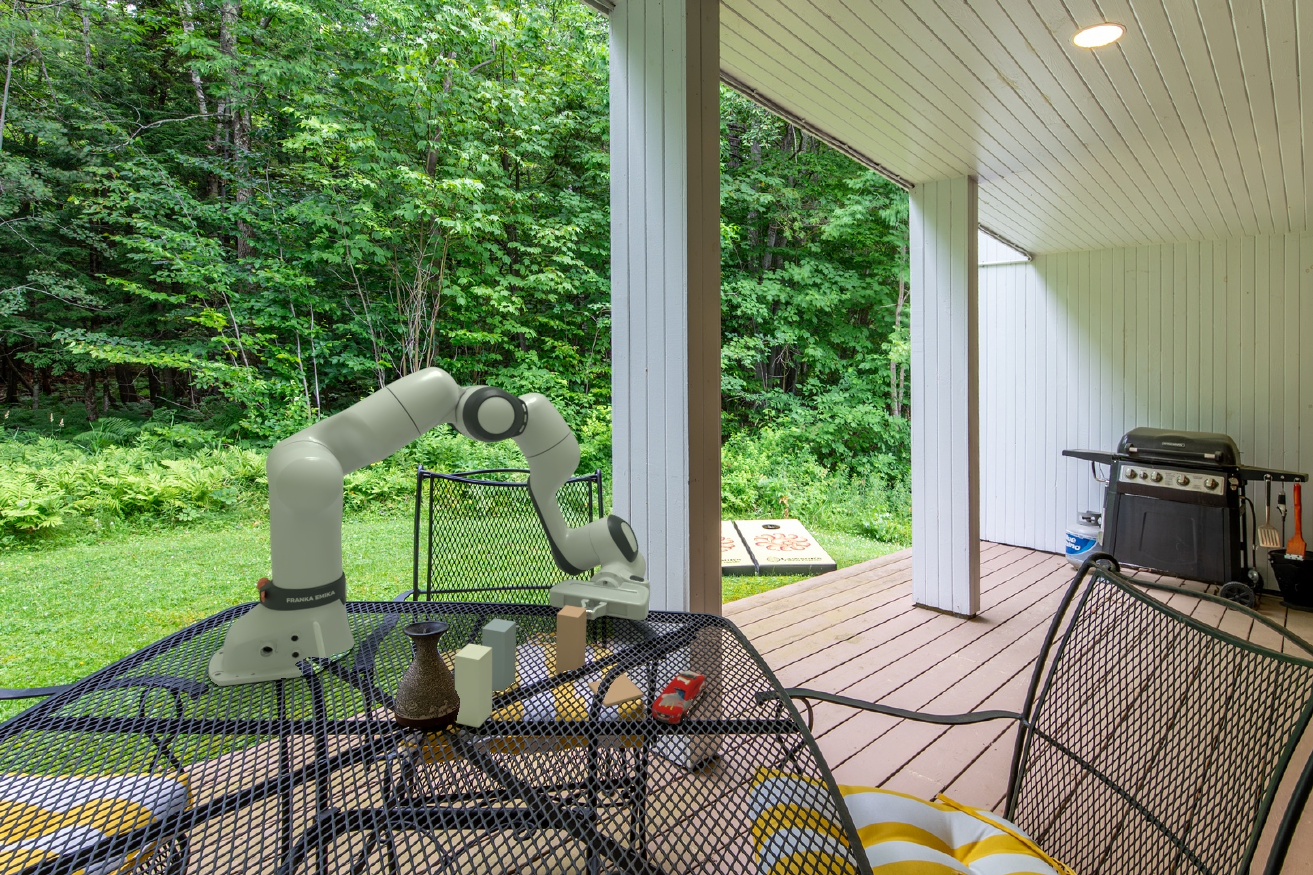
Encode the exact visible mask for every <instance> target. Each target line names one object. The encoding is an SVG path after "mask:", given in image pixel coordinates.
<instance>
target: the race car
mask: <svg viewBox="0 0 1313 875" xmlns="http://www.w3.org/2000/svg"><path fill="white" fill-rule="evenodd" d="M706 686H707V681H706V678H705V676H704V675H703V674H701V673H697V672H695V671H692V670H684V671H682V672H680V673H678V674H677V675H676V676H675V677H674V678H673V679H671V681H670V682H669V683H668V685H666V686H665V688H664V687H661V688H660V690H661V691H662V692H661V694H660V695H659V696H658V698H656V700H655V701H654V702H653V704H652V707H651V714H652V716H653V718H654V719H656V721H659V722H661V723H664V724H670V725H675V724H682V723H681V721H682V722H684V721H683V719H684V720H685V718H686V717H688V715H689V714H687V712H688V709H689V708H690V706H691V701H690V700H691V699H693V700H694V699H696V697H697V695H698V694H700V693H701V692H702V691H703V690H704V689H705V687H706ZM703 688H704V689H703Z"/></svg>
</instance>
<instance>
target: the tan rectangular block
mask: <svg viewBox="0 0 1313 875" xmlns="http://www.w3.org/2000/svg"><path fill="white" fill-rule="evenodd" d="M586 617H587V608H581V607H575V606H568V605H566V606H565V607H564V608H561V610H559V612H557V614H556V640H555V641H556V642H555V644H556V645H555V646H556V649H555V674H560V673H559V672H562V671H567V670H577V669H578V668H580V667H581V666H583V665H585V666H586V651H587V650H586V649H587V648H586V647H587V645H586V643H587V641H586V640H587V619H586Z"/></svg>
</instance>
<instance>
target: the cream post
mask: <svg viewBox="0 0 1313 875" xmlns="http://www.w3.org/2000/svg"><path fill="white" fill-rule="evenodd" d="M455 690H456V691H457V694H458V696H459V698H460V708H459V712H458V715H457V721H456V723H455V724H460V725H464V726H469V727H475V728H478V729H479V728H480V727H481V726H482V725H483V724H484V723H485V722H486V720H487V719H488V718H489V717H490V716H491V714H492V713H493V692H492V647H486V646H482V644H474V643H467V645H465V646H464V647H462V649H460V651H458V652H457V653H455V655H454V691H455Z"/></svg>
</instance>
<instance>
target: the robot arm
mask: <svg viewBox="0 0 1313 875" xmlns="http://www.w3.org/2000/svg"><path fill="white" fill-rule="evenodd" d="M444 424H448V426H450V427H451V428H452V429H453V430H454V431H455V432H457V433H458V434H460V435H462V436H464V437H466V438H467V439H470V440H473V441H476V442H484V443H489V444H491V443H492V444H493V443H498V442H502V441H505V440H508V439H512V440H513V441H514V442H515V444H517V446H518V448H519V450H520V451H521V453H522V455H523V456H524V457H525V460H526V462H527V464H528V468H529V475H528V477H527V480H526V486H527V492H528V495H529V497H530V501H531V502H532V506H533V508H534V511H535V513H536V516H537V517H538V519H539V522H540V524H541V527H542V529H543V532H544V534H545V536H546V539H547V541H548V544H549V546H550V551H551V554H552V558H553V561H554V563H555V565H556V566H557V568H558V569H559V570H560V571H561V572H563V573H564V574H567V575H569V576H573V577H576V576H579V575H581V574H583V573H585V572H587V571H589V570H591V569H593V568H596V567H599V566H600V569H598V570H597V571H596V573H595V574H593V576H592V577H591V578H590V580H589V581H587V580H580V579H573V578H572V579H571V578H568V579H564V580H561V581H560V582H558V583H556V584H555V585H554V586H552V587H551V588H550V590H549V604H550V605H551V607H554V608H559V609H563V608H564V607H565V606H566V605H568V606H575V607H581V608H587V617H586V620H590V621H595V619H597V618H600V617H603V616H609V617H614V618H619V619H620V618H621V619H628V620H633V621H638V622H640V621H645V620H646V618H647V617H648V615H649V610H650V609H649V608H650V600H651V599H650V598H651V584H650V580H649V579H646V578H645V575H646V572H647V563H646V559H645V556H644V555H643V554H642V552H641V551H639V544H638V540H637V537H636V534H635V532H634V530H633V528H632V526H631V525H630V524H629V522H628V521H626V520H624V519H623V518H621V517H620V516H618V515H616V514H609V515H607V516H604V517H601V518H599V519H596V520H593V521H592V522H589V523H586V524H584V525H581V526H579V527H576V528H571V527H569V526H568V525H567V524H566V521H565V519H564V516H563V513H562V511H561V509H560V506H559V504H558V501H557V498H556V495H557V492H558V491H559V489H561V488H562V487H563V486H564V485H565V484H566V483H567V482H568V481H569V480H570V478H571V477H572V476H573V475H574V473H575V471H576V470H577V468H578V467H579V464H580V462H581V454H582V452H581V447H580V446H579V445H580V444H579V442H578V441H577V438H576V437H575V435H574V433H573V432H572V430H571V428H570V427H569V425H568V423H567V422H566V420H565V419H564V417H563V416H562V414H561V413H560V412H559V410H558V409H557V407H555V406H554V405H553V403H552V402H551V401H550V400H549V398H547V397H546V395H544V394H542V393H539V392H529V393H525V394H523V395H521V396H515V395H514V394H512V393H511V392H509V391H507V390H505V389H503V388H501V387H497V386H489V385H485V384H479V385H466V386H460V385H459V384H457V382H456V380H455V379H454V377H453V376H452V375H451V374H449V373H448V372H447V371H445V370H444V369H442V368H440V367H438V366H437V367H436V366H430V367H426V368H423V369H419V370H417V371H415V372H412V373H410V374H408V375H405V376H403V377H400V378H399V379H397V380H394V381H393V382H391V383H389V384H387V385H385V386H384V387H382V388H380V389H378V390H377V391H376V392H373V393H372V394H370V395H369V396H367V397H365V398H363V399H362V400H360V401H358V402H356V403H355V404H353V405H351V406H350V407H348V408H346V409H343V410H342V411H340V412H338V413H335V414H333V415H331V416H329V417H326V418H325V419H322V420H320V421H318V422H316V423H314V424H312V425H310V426H308V427H306V428H303V429H302V430H300V431H297V432H296V433H294V434H292V435H290V436H288V437H287V438H285V439H282V440H281V441H278V442H277V443H276V444H275V445H274V446H273V447H272V448H271V449H270V451H269V453H268V454H267V458H266V461H265V469H266V470H265V471H266V478H267V485H268V500H269V501H268V503H269V531H270V532H269V534H270V535H269V537H270V538H269V539H270V557H271V576H272V577H271V578H272V579H269V578H268V577H261V578H259V579H258V580H257V582H256V584H257V585H256V588H257V590H258V592H259V593H258V594H259V595H258V596H259V597H258V598H259V603H258V604H257V605H256V606H254V607H252V609H250V610H249V611H247V612H246V613H244V614H243V615H242V616H241V617H239V618H238V619H237V620H236V621H235V622H233V624H231V626H230V627H229V629H228V631H227V633H226V635H225V639H224V643H223V646H222V647H221V648H220V649H218V650H217V651H216V652H215V653H214V654H213V655H212V657H211V659H210V660H209V664H208V674H209V675H208V674H207V675H208V678H209V677H210V679H211V680H212V681H213V682H214V683H215V684H217V685H218V686H219V687H226V686H233V685H242V684H251V683H259V682H269V681H274V680H275V681H277V680H282V679H281V678H286V679H293V678H300V676H301V670H299V667H297V666H295V664H296V663H297V662H299V661H303V659H305V658H308V657H319V658H324V657H329V656H331V655H333V654H336V653H340V652H344V651H346V650H348V649H349V648H352V647H353V645H354V644H355V645H356V641H355V639H354V637H353V633H352V631H351V628H350V625H349V621H348V616H347V610H346V603H347V597H348V594H347V592H348V590H347V588H348V587H347V577H346V574H345V571H344V570H343V549H342V548H343V546H342V545H343V544H342V543H343V542H342V541H343V540H342V525H343V524H342V523H343V513H344V512H343V511H344V510H343V509H344V477H345V476H348V475H349V474H352V473H353V472H356V471H358V470H360V469H362V468H364V467H367V466H369V465H371V464H374V463H378V462H381V461H383V460H385V459H387V458H388V457H390V456H392V455H393V454H395V453H396V452H398V451H399V450H401V449H403V448H404V447H406V446H408V445H409V444H411V443H412V442H414V441H416V440H417V439H419V438H420V437H421V436H423V435H424V434H427V432H429V431H431V430H432V429H433V428H435V427H438V426H440V425H444ZM210 679H209V680H210ZM215 684H214V685H215ZM217 685H216V686H217ZM218 686H217V687H218Z"/></svg>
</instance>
